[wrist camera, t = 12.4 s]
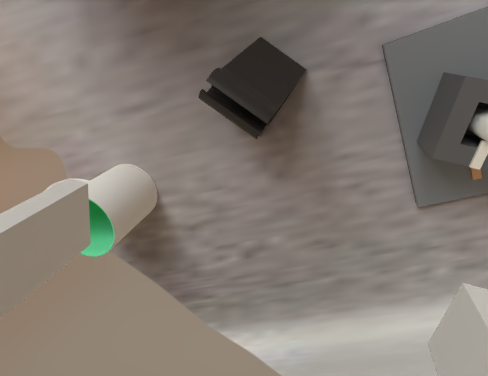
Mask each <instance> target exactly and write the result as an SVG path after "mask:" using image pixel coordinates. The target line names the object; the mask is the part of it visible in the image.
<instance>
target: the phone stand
mask: <svg viewBox="0 0 488 376" xmlns="http://www.w3.org/2000/svg"><path fill="white" fill-rule="evenodd" d="M305 71H306V69H305V68H303V67H302V66H300V65H299V64H298V63H296V62H295V61H293V60H292V59H291V58H289V57H288V56H287V55H285V54H284V53H282V52H281V51H280V50H278V49H277V48H275V47H274V46H273V45H271V44H270V43H269V42H267V41H266V40H264V39H263V38H262V37H260V38H259V39H258V40H256V41H255V42H254V43H253V44H251V45H250V46H249V47H248V48H246V49H245V50H244V51H243V52H242V53H240V54H239V55H238V56H237V57H235V58H234V59H233V60H232V61H231V62H229V63H228V64H227V65H226V66H224V67H223V68H217V69H215V70H214V71H213V72H212V73H211V75H210V76H209V77H208V79H207V80H206V81H207V82H209V83H210V84H211V85H212V87H211V88H210V89H209V91H207V92H206V91H204V90H203V89H202V90H201V91H200V94H199V99H201V100H202V101H204V102H205V103H206V104H208V105H209V106H211V107H212V108H213V109H215V110H216V111H218V112H219V113H220V114H222V115H223V116H225V117H226V118H228V119H229V120H230V121H232V122H233V123H235V124H236V125H237V126H239V127H240V128H242V129H243V130H244V131H246V132H247V133H249V134H250V135H252V136H253V137H254V138H256V139H257V138H258V137H259V136H261V135H262V133H263V132H264V131H265V129H266V128H267V126H268V125H269V123H270V122H271V120H272V119H273V118H274V116H275V115H276V113H277V112H278V110H279V109H280V107H281V106H282V104H283V103H284V102H285V100H286V99H287V97H288V96H289V94H290V93H291V92H292V90H293V89H294V87H295V86H296V84H297V83H298V81H299V80H300V79H301V77H302V76H303V74H304V73H305Z"/></svg>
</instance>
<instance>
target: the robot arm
mask: <svg viewBox="0 0 488 376" xmlns="http://www.w3.org/2000/svg"><path fill="white" fill-rule="evenodd" d="M90 244H91V239H90V217H89V195H88V183H86V182H82V181H78V180H74V179H71V178H69V179H67V180H65V181H63V182H61V183H59V184H57V185H55V186H53V187H52V188H50V189H48V190H46V191H44V192H42V193H40V194H38V195H36V196H34V197H32V198H30V199H28V200H26V201H24V202H22V203H20V204H19V205H17V206H15V207H13V208H11V209H9V210H7V211H5V212H3V213H1V214H0V320H1V319H2V318H3V317H4V316H5V315H6V314H8V313H9V312H10V311H11V310H13V309H14V308H15V307H16V306H17V305H19V304H20V303H21V302H22V301H23V300H25V299H26V298H27V297H28V296H29V295H31V294H32V293H33V292H34V291H35V290H36V289H38V288H39V287H40V286H41V285H43V284H44V283H45V282H46V281H47V280H48V279H50V278H51V277H52V276H53V275H54V274H56V273H57V272H58V271H59V270H60V269H62V268H63V267H64V266H65V265H66V264H68V263H69V262H70V261H71V260H72V259H74V258H75V257H76V256H77V255H78V254H80V253H81V252H82V251H83V250H84V249H86V248H87V247H88V246H89V245H90ZM428 346H429V349H430V352H431V355H432V358H433V361H434V364H435V367H436V370H437V373H438V376H488V290H487V289H484V288H480V287H476V286H472V285H469V284H465V283H462V285H461V287H460V288H459V290H458V292H457V294H456V296H455V297H454V299H453V301H452V303H451V304H450V306H449V308H448V310H447V311H446V313H445V315H444V317H443V318H442V320H441V322H440V324H439V325H438V327H437V329H436V331H435V332H434V334H433V336H432V338H431V339H430V341H429V343H428Z"/></svg>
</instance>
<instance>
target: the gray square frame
mask: <svg viewBox="0 0 488 376" xmlns="http://www.w3.org/2000/svg"><path fill="white" fill-rule="evenodd" d="M479 102H481V103H487V104H488V80H485V79H479V78H474V77H468V76H462V75H457V74H451V73H446V72H444V73H443V75H442V78H441V80H440V83H439V86H438V88H437V91H436V93H435V96H434V98H433V101H432V103H431V106H430V109H429V111H428V114H427V116H426V119H425V121H424V124H423V126H422V129H421V132H420V134H419V137H418V139H417V143H418V144H419V145H420V146H421V147H422V148H423V149H424V150H425V152H426V153H427V154H428V155H429V156H430V157H431V158H433V159H437V160H442V161H447V162H451V163H456V164H460V165H465V166H469V167H470V168H475V169H479V170H480V169H483V170H488V142H487V141H485V140H484V139H482V138H480V137H479V136H478V137H474V136H469V135H465V132H466V130H467V128H468V125H469V123H470V121H471V119H472V117H473V114H474V112H475V110H476V108H477V105H478V103H479Z"/></svg>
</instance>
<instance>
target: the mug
mask: <svg viewBox="0 0 488 376" xmlns="http://www.w3.org/2000/svg"><path fill="white" fill-rule="evenodd" d="M74 180H78V181H82V182H86V183H88V195H89V217H90V239H91V244H90V245H89V246H88V247H87V248H86V249H84V250H83V251H82V252H81V253H80V254H82V255H85V256H91V257H96V256H101V255H104V254H106V253H107V252H108V251H109V250H111V249H112V248H113V247H114V246H115V245H116V244H117V243H118V242H119V241H120V240H121V239H122V238H123V237H124V236H126V235H127V234H128V233H129V232H130V231H131V230H132V229H133V228H134V227H135V226H136V225H137V224H138V223H139V222H140V221H142V220H143V219H144V218H145V217H146V216H147V215H148V214H149V213H150V212H151V211H152V210H153V209H154V208H155V206H156V203H157V198H158V195H157V189H156V186H155V184H154V182H153V180H152V179H151V177H150V176H149V175H148V174H147V173H146V172H145V171H144V170H142V169H141V168H139V167H137V166H134V165H131V164H120V165H117V166H115V167H113V168H111V169H110V170H108V171H106V172H104V173H103V174H101V175H99V176H97V177H96V178H94V179H92V180H90V181H89V180H84V179H74ZM63 181H65V180H62V181H59V182H57V183H54V184H53V185H51V186H49V187H48V188H47V189H46V190H48V189H50V188H52V187H53V186H55V185H57V184H59V183H61V182H63Z"/></svg>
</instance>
